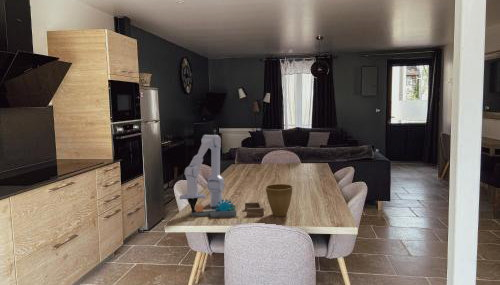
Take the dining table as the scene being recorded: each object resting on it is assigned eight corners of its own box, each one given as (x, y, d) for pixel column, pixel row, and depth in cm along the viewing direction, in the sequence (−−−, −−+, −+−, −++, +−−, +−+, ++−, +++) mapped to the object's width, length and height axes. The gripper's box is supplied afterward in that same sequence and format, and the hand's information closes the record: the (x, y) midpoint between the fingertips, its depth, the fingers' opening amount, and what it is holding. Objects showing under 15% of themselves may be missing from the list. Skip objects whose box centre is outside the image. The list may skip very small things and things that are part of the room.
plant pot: (290, 210, 217) (290, 183, 216) (294, 218, 202) (294, 189, 201) (265, 211, 217) (264, 184, 215) (267, 219, 202) (266, 190, 200)
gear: (213, 212, 211) (218, 197, 217) (214, 217, 216) (219, 202, 222) (232, 215, 209) (236, 200, 215) (233, 220, 214) (237, 205, 220)
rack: (244, 209, 222) (244, 202, 221) (260, 208, 223) (260, 201, 222) (246, 216, 208) (246, 209, 208) (263, 215, 209) (263, 208, 208)
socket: (192, 211, 219) (192, 206, 219) (235, 209, 221) (235, 204, 221) (190, 218, 205) (190, 213, 205) (236, 216, 207) (236, 211, 207)
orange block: (196, 213, 214) (196, 204, 214) (215, 212, 215) (215, 203, 215) (196, 215, 210) (195, 206, 210) (215, 214, 211) (215, 205, 211)
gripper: (178, 189, 206) (179, 213, 208) (205, 188, 207) (206, 212, 209) (179, 187, 213) (180, 210, 215) (205, 185, 214) (206, 209, 216)
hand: (193, 211), depth 212 cm, fingers closed
